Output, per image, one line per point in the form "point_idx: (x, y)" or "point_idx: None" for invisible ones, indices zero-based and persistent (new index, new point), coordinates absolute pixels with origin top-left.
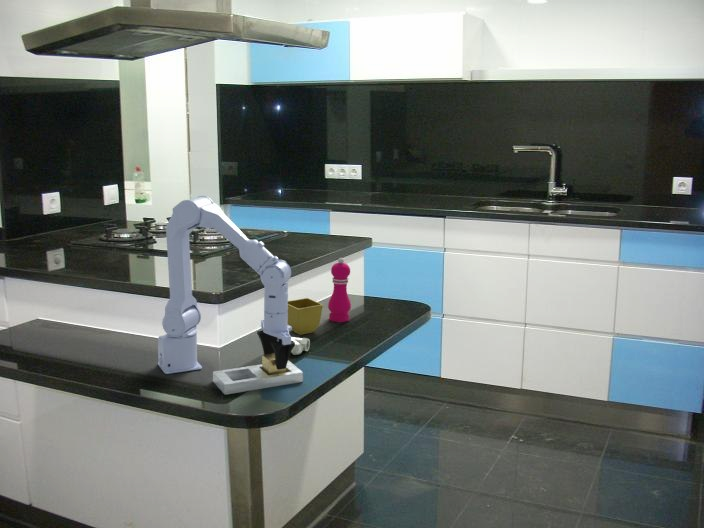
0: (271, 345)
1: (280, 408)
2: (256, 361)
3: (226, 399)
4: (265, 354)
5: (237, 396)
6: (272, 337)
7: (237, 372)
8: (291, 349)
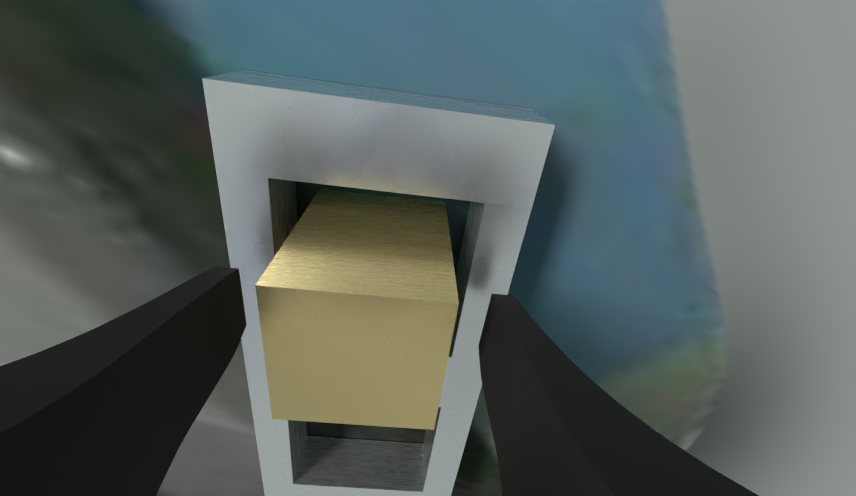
0: (157, 382)
1: (717, 379)
2: (12, 200)
3: (485, 477)
4: (274, 400)
5: (484, 447)
6: (70, 484)
7: (294, 427)
8: (678, 457)
